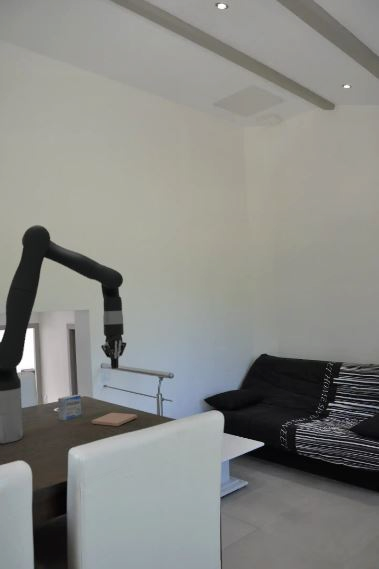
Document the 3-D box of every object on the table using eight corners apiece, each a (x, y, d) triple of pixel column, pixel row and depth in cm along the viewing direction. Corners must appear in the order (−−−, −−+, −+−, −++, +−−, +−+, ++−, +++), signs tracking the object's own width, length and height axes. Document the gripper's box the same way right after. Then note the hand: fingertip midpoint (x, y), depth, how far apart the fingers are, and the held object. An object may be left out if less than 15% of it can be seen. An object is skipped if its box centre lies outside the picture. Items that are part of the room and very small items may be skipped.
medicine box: (65, 421, 182) (64, 398, 183) (58, 420, 185) (57, 398, 185) (81, 416, 189) (80, 395, 189) (74, 415, 191) (73, 394, 192)
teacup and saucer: (67, 406, 211) (66, 397, 211) (77, 408, 206) (77, 399, 206) (50, 411, 205) (49, 401, 205) (60, 413, 199) (60, 403, 200)
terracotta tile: (117, 423, 168) (137, 414, 179) (91, 420, 174) (111, 412, 185) (117, 426, 168) (137, 417, 179) (91, 423, 174) (112, 415, 185)
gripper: (110, 323, 173) (111, 371, 173) (131, 321, 185) (133, 366, 184) (94, 324, 177) (95, 370, 176) (116, 322, 189) (117, 365, 188)
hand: (114, 368), depth 180 cm, fingers closed
